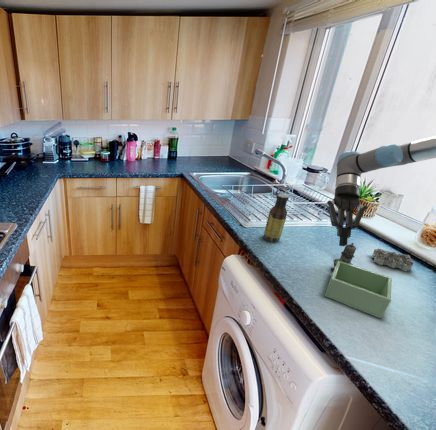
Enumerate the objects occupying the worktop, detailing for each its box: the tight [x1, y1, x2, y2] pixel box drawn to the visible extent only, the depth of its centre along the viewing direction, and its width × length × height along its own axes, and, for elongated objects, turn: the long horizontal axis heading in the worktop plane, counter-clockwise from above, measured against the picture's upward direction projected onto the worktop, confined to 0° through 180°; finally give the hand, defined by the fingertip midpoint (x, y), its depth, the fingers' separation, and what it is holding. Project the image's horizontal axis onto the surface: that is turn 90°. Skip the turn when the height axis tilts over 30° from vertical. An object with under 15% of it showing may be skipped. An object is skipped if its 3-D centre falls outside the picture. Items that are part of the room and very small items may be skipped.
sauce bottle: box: [263, 193, 289, 243], centre depth 117 cm, size 6×6×20 cm
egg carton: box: [371, 248, 415, 272], centre depth 105 cm, size 11×8×4 cm
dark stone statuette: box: [330, 242, 357, 273], centre depth 98 cm, size 6×6×12 cm
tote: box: [323, 261, 393, 319], centre depth 88 cm, size 14×14×7 cm
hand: (343, 244), depth 105 cm, fingers closed
